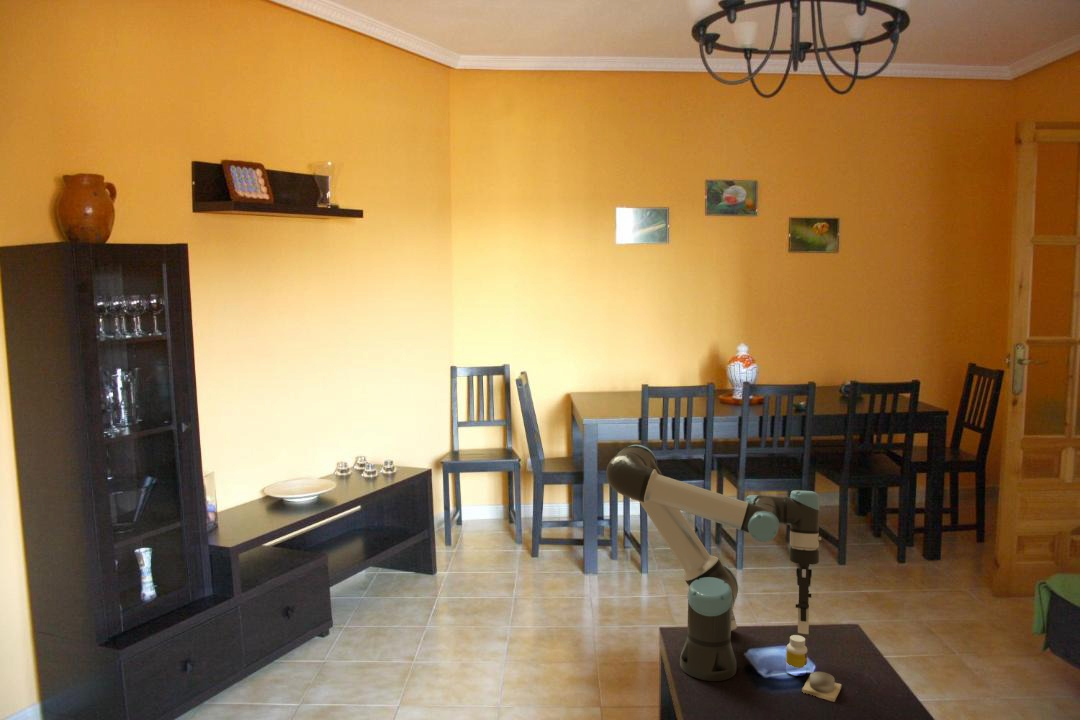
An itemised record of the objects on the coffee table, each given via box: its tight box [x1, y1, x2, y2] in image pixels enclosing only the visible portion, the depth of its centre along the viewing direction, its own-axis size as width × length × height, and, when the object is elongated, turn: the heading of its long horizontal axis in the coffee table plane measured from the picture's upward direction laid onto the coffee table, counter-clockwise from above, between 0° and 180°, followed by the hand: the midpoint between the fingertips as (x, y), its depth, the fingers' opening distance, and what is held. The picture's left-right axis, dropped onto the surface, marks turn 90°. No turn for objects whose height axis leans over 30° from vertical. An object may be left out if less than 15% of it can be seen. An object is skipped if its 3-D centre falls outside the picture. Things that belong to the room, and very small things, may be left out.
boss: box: [801, 671, 842, 703], centre depth 199 cm, size 8×8×4 cm
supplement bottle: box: [785, 634, 808, 668], centre depth 208 cm, size 5×5×10 cm
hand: (803, 627), depth 208 cm, fingers open, 13 cm apart
